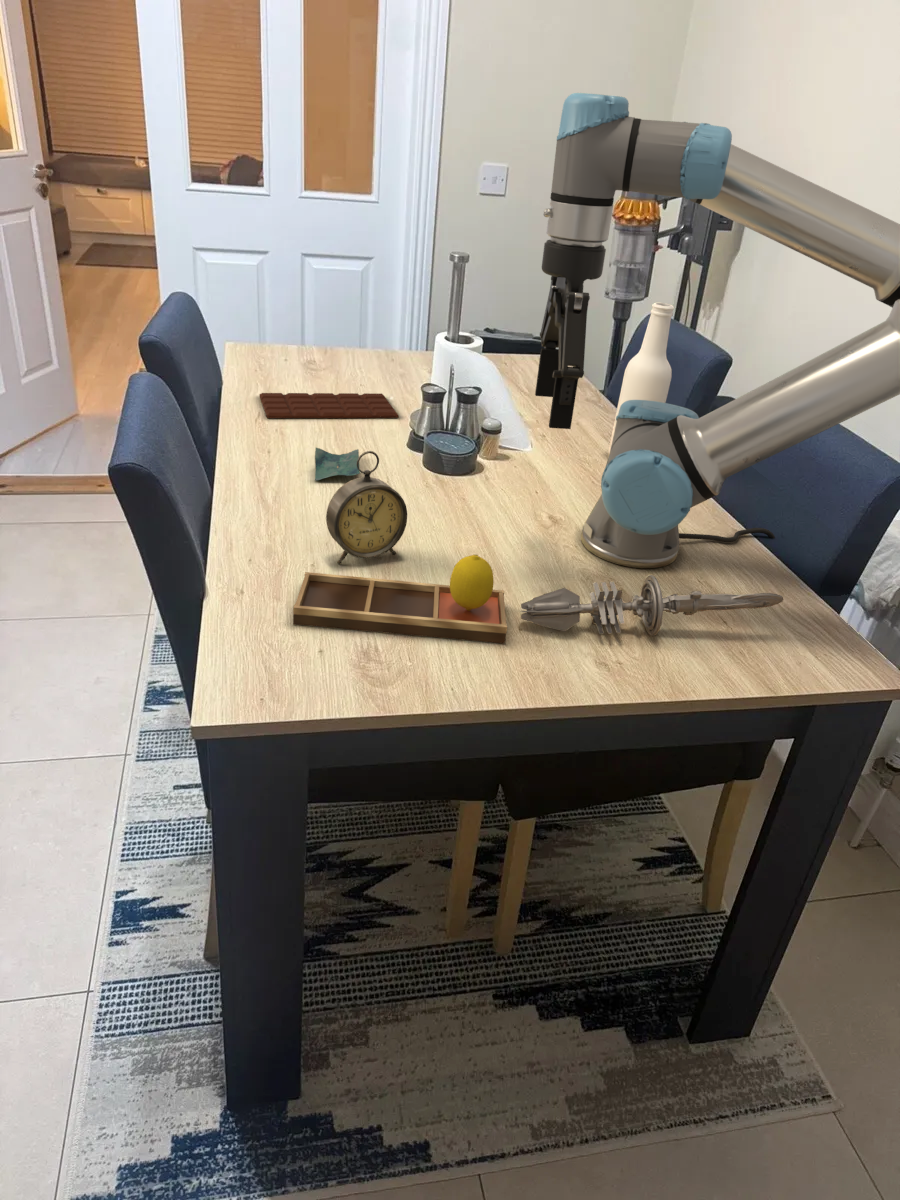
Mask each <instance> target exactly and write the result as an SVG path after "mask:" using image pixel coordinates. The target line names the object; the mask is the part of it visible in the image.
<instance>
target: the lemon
mask: <svg viewBox="0 0 900 1200" xmlns="http://www.w3.org/2000/svg"><path fill="white" fill-rule="evenodd" d="M494 583H495V581H494V571H493V569H492V566H491V565H490V563H489V562H488V561H487V560H486V559H484V558H483V557H482V556H479V555H478V554H471V555H467V556H464V557H463V558H461V559H459V560H458V561H457V562H456V564H455V565H454V567H453V569H452V572H451V575H450V579H449V585H450V591H451V595H452V597H453V599H454V600H455V602H456V603H457V604H458V605H460V606H461V607H463V608H465V609H466V610H468V611H470V610H472V609H476V608H479V607H481V606H483V605H484V604H485V603H486V602H487V601H488V600H489V598H490V596H491V594H492V591H493V590H494Z"/></svg>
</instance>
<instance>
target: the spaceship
mask: <svg viewBox="0 0 900 1200" xmlns="http://www.w3.org/2000/svg"><path fill="white" fill-rule="evenodd" d="M600 583H601V587H602V591H601V590H600V587H599V583H598V582H597V581H595V582H594V581H593V582H592V585H593V590H594V591H591V592H589V595H590V603H581V597H580V595H579V594H577V593H576V592H574V591H572V590H570V589H568V588H567V587H564V586H563V587H561V588H558V589H555V590H553V591H550V592H546V593H544V594H542V595H538V596H535V597H532V599H531V600H528V601H525V602H523V603H521V604H520V608H521V609H522V610H520V611H519V612H520V613H522V614H520V620H522V621H525V622H526V621H527V622H529V623H533V624H534V625H537V626H541V627H545V628H549V629H553V630H556V631H557V630H558V631H562V632H567V631H568V630H569V629H571V628H572V627H574V626H576V625H577V624H579V623H580V621H581V614H590V616H591V617H592V619H591V624H595V625H596V628H597V631H598V633H599V635H603V634H604V628H603V625H604V626H605V629H606V632H607V634H609V635H610V634H613V629H612V625H613V627H614V630H615V632H616V634H621V633H622V631H621V627H620V624H625V618H624V612H625V611H629V612H631V611H632V614H633V616H636V617H639V618H641V620H642V623H643V626H644V628H645V630H646V632H647V633H648V634H649V635H651V636H653V637H654V636H656V635H658V633H659V632H660V630H661V627H662V625H663V617H664V612H665V613H668V614H672V615H678V614H680V613H682V615H683V616H693V615H695V614H696V613H698V612H705V611H731V610H734V611H735V610H744V609H752V610H753V609H764V608H769V607H770V608H771V607H774V606H776V605H780V604H781V603H782V602H784V596H783V595H780V594H778V593H774V592H759V593H758V592H756V593H744V594H743V593H742V594H737V593H736V594H735V593H711V594H709V593H702V591H700V590H695V591H691V593H688V594H678V593H673V594H669V595H667V596H665V597H663V592H662V589H661V586H660V583H659V581H658V579H657V577H655V576H654V575H652V574H649V575H647V576H646V577H645V578H644V580H643V582H642V586H641V590H640V594H639V595H640V596H639V595H637V594H635V595H633V596H632V601H629V602H624V601H623V598H622V595H623V590H618V589H617V586H616V584H615V582H614V581H609V585H610V589H611V590H609V588H608V585H607V582H606V581H601V582H600Z"/></svg>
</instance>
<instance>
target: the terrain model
mask: <svg viewBox="0 0 900 1200" xmlns="http://www.w3.org/2000/svg"><path fill="white" fill-rule="evenodd" d="M359 456H360V451H359V449H358V448H357V449H353V450H352V451H350V452H347V453H342V454H336V453H331V452H328V451H326V450H324V449H323V448H319V447H315V452H314V460H315V461H314V462H315V464H314V465H315V471H314V481H320V480H323V479H327V478H330V477H334V476H335V477H336V476H347V477H349V476H356V475H359V474H361V472H360V471H359V470H358V468H357V460H358V458H359Z"/></svg>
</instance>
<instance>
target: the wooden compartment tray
mask: <svg viewBox="0 0 900 1200" xmlns="http://www.w3.org/2000/svg"><path fill="white" fill-rule="evenodd" d="M298 592H299V593H298V595H297V598H296V600H295V604H294V605H293V607H292V625H294V626H295V625H297V626H307V627H316V628H317V627H319V628H329V629H339V630H351V631H360V632H361V631H362V632H363V631H364V632H373V633H384V634H393V635H394V634H395V635H405V636H416V637H417V636H418V637H426V638H427V637H428V638H439V639H440V638H441V639H449V640H461V641H470V642H471V641H472V642H481V643H482V642H483V643H492V644H493V643H494V644H506V639H507V631H508V624H507V615H506V606H505V603H506V602H505V590H501V589H493V591H492V594H491V596H490V598H489V600H488V601H487V602H486V603H485V604H484V605H483V606H481V607H479V608H476V609H472V610H470V611H468V610H466V609H465V608H463V607H461V606H460V605H458V604H457V603H456V602H455V600H454V599H453V597H452V595H451V591H450V584H449V585H447V584H438V583H427V582H416V581H406V580H396V579H395V580H394V579H385V578H373V577H363V576H362V577H361V576H352V575H341V574H332V573H331V574H330V573H321V572H310V571H305V572H304V577H303V580H302V583H301V586H300V589H299V591H298Z"/></svg>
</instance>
